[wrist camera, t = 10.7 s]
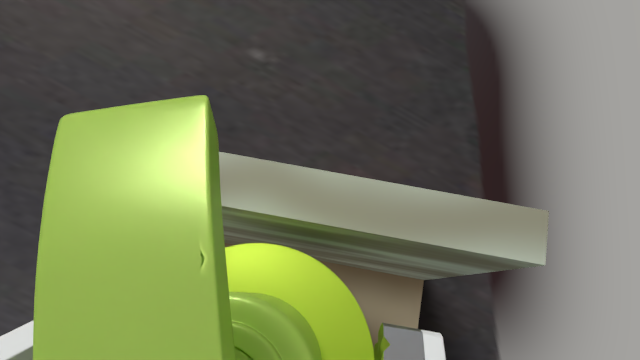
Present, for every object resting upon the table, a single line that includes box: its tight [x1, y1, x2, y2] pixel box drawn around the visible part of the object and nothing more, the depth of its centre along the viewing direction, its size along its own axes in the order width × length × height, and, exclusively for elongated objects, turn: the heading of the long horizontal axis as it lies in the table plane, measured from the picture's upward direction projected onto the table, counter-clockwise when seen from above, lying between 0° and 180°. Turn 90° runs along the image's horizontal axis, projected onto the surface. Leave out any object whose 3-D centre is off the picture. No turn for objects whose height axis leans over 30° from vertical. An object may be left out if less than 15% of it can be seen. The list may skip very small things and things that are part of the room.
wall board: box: [219, 152, 549, 348], centre depth 26 cm, size 15×18×22 cm
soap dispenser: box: [33, 95, 375, 360], centre depth 14 cm, size 6×7×20 cm
